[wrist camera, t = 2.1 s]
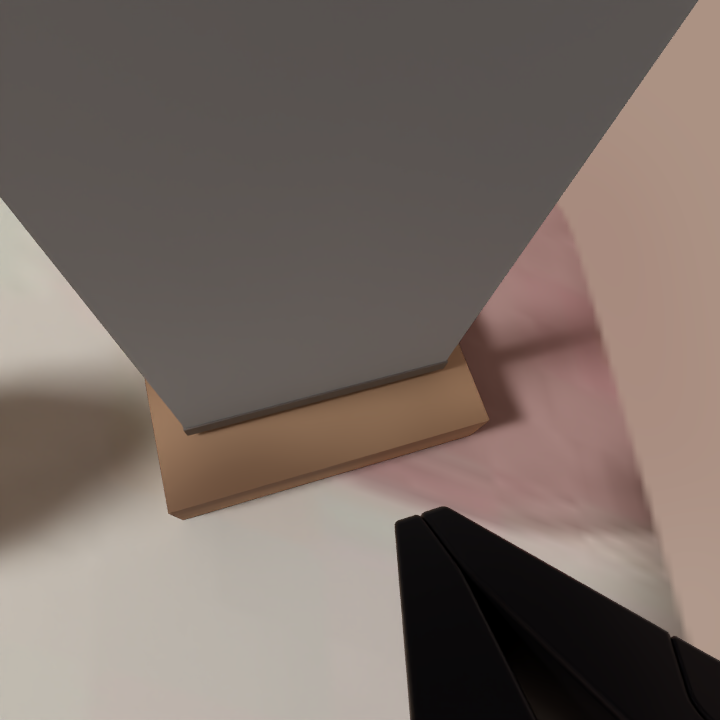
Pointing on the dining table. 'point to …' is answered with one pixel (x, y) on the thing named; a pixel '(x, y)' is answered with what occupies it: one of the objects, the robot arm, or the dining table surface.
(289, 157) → the grey rectangular panel
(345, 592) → the dining table surface
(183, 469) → the ticket block
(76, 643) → the dining table surface
